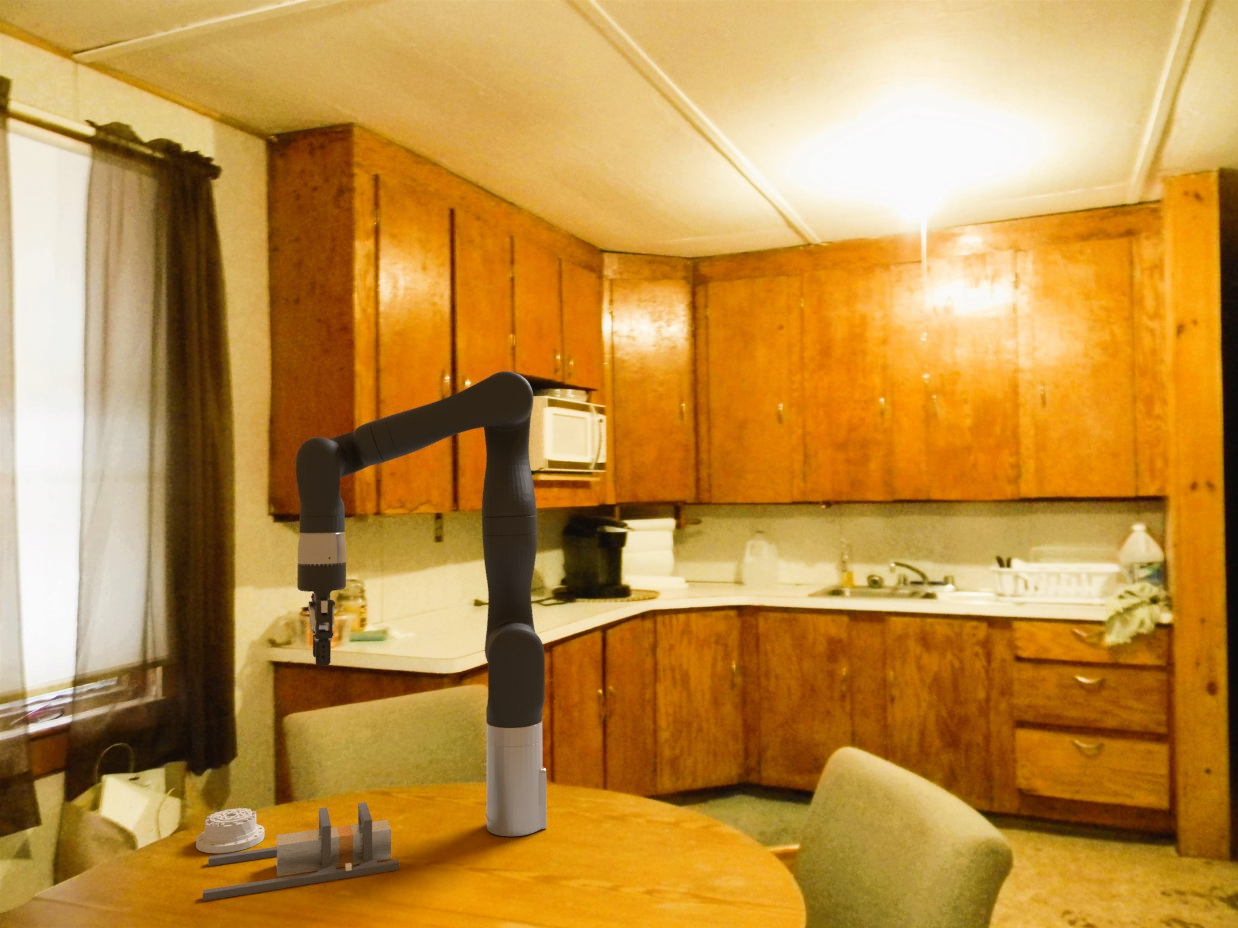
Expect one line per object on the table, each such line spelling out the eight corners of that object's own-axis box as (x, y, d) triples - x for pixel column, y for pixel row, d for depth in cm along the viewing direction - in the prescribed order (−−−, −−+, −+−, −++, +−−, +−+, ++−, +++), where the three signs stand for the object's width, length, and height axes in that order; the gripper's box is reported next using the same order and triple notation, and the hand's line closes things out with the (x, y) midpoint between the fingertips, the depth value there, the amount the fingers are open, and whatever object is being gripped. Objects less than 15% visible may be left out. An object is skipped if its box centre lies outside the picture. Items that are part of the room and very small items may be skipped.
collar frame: (387, 837, 141) (387, 794, 141) (399, 869, 128) (399, 822, 128) (208, 863, 131) (209, 816, 131) (202, 900, 118) (203, 849, 119)
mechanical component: (181, 852, 136) (238, 857, 134) (181, 823, 136) (239, 828, 134) (223, 829, 145) (277, 833, 143) (223, 802, 146) (277, 806, 144)
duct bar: (387, 848, 136) (387, 819, 136) (390, 858, 132) (391, 829, 132) (276, 865, 130) (276, 835, 130) (277, 876, 126) (277, 845, 126)
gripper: (349, 562, 138) (349, 666, 137) (342, 557, 151) (342, 652, 150) (299, 563, 135) (298, 670, 134) (296, 558, 148) (295, 655, 147)
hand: (321, 660), depth 142 cm, fingers open, 8 cm apart
